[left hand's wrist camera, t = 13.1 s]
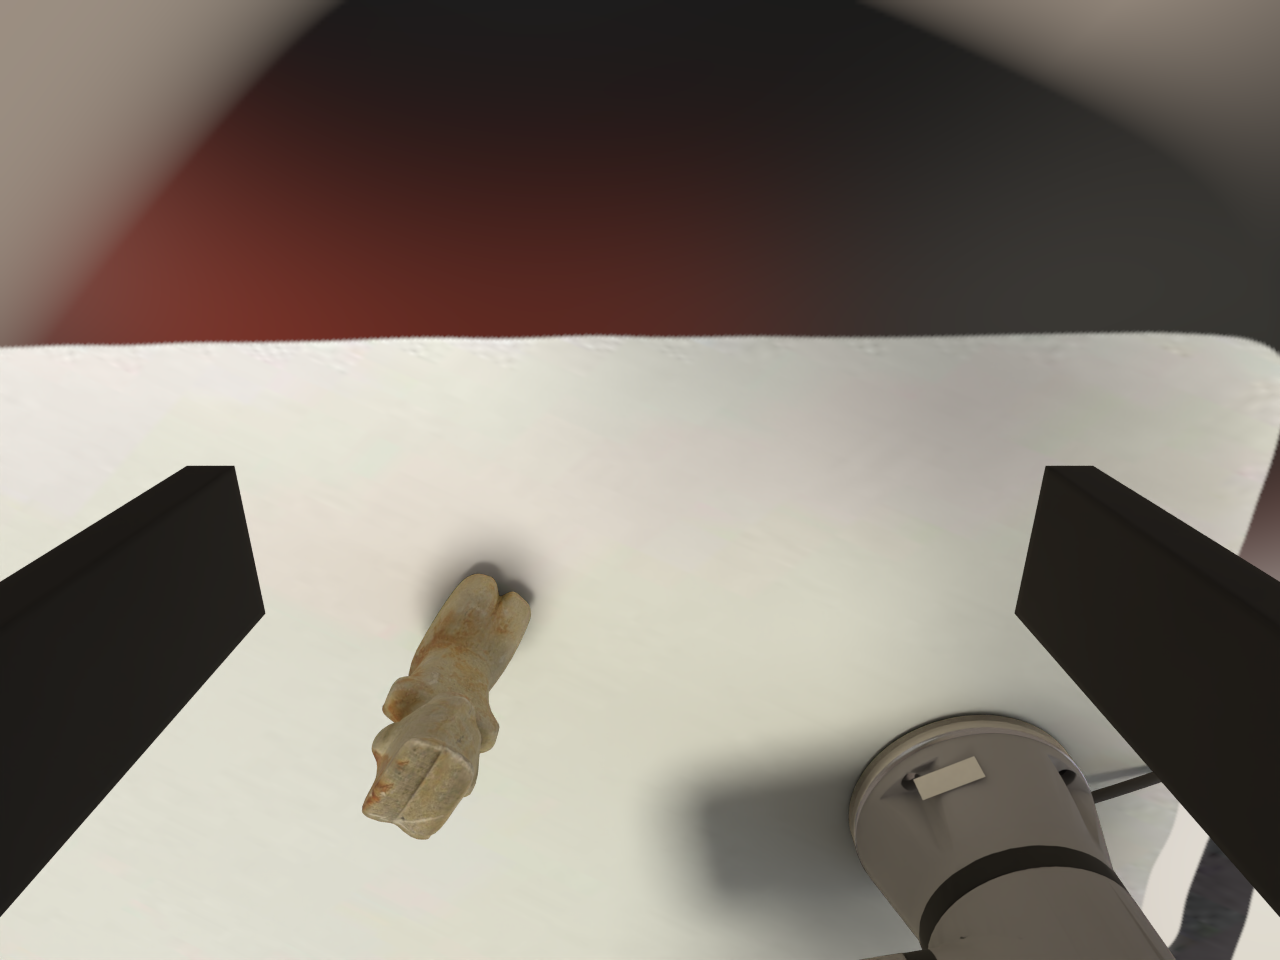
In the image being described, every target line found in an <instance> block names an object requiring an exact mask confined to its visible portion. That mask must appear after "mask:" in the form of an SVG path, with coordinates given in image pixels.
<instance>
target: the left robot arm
mask: <svg viewBox="0 0 1280 960" xmlns="http://www.w3.org/2000/svg"><path fill="white" fill-rule="evenodd" d="M264 614H265V609H264V605H263V600H262V595H261V590H260V586H259V581H258V576H257V571H256V567H255V562H254V557H253V552H252V547H251V543H250V538H249V533H248V528H247V524H246V519H245V514H244V509H243V505H242V500H241V495H240V490H239V486H238V481H237V476H236V471H235V467H234V466H186V467H184V468H183V469H181V470H180V471H178V472H176V473H175V474H173V475H171V476H170V477H168V478H167V479H165V480H163V481H162V482H160V483H159V484H157V485H155V486H154V487H152V488H151V489H149V490H147V491H146V492H144V493H143V494H141V495H139V496H138V497H136V498H134V499H133V500H131V501H130V502H128V503H126V504H125V505H123V506H122V507H120V508H118V509H117V510H115V511H114V512H112V513H110V514H109V515H107V516H105V517H104V518H102V519H101V520H99V521H97V522H96V523H94V524H93V525H91V526H89V527H88V528H86V529H85V530H83V531H81V532H80V533H78V534H77V535H75V536H73V537H72V538H70V539H68V540H67V541H65V542H64V543H62V544H60V545H59V546H57V547H56V548H54V549H52V550H51V551H49V552H48V553H46V554H44V555H43V556H41V557H39V558H38V559H36V560H35V561H33V562H31V563H30V564H28V565H27V566H25V567H23V568H22V569H20V570H19V571H17V572H15V573H14V574H12V575H11V576H9V577H7V578H6V579H4V580H2V581H1V582H0V917H1V916H2V914H3V913H4V912H5V911H6V910H7V909H8V908H9V906H10V905H11V904H12V903H13V902H14V901H15V900H16V898H17V897H18V896H19V895H20V894H21V893H22V892H23V890H24V889H25V888H26V887H27V886H28V885H29V884H30V882H31V881H32V880H33V879H34V878H35V877H36V876H37V874H38V873H39V872H40V871H41V870H42V869H43V868H44V866H45V865H46V864H47V863H48V862H49V861H50V859H51V858H52V857H53V856H54V855H55V854H56V853H57V851H58V850H59V849H60V848H61V847H62V846H63V845H64V843H65V842H66V841H67V840H68V839H69V838H70V837H71V835H72V834H73V833H74V832H75V831H76V830H77V829H78V827H79V826H80V825H81V824H82V823H83V822H84V821H85V819H86V818H87V817H88V816H89V815H90V814H91V813H92V811H93V810H94V809H95V808H96V807H97V806H98V805H99V803H100V802H101V801H102V800H103V799H104V798H105V797H106V795H107V794H108V793H109V792H110V791H111V790H112V788H113V787H114V786H115V785H116V784H117V783H118V782H119V780H120V779H121V778H122V777H123V776H124V775H125V774H126V772H127V771H128V770H129V769H130V768H131V767H132V766H133V764H134V763H135V762H136V761H137V760H138V759H139V758H140V756H141V755H142V754H143V753H144V752H145V751H146V750H147V748H148V747H149V746H150V745H151V744H152V743H153V742H154V740H155V739H156V738H157V737H158V736H159V735H160V734H161V732H162V731H163V730H164V729H165V728H166V727H167V726H168V724H169V723H170V722H171V721H172V720H173V719H174V717H175V716H176V715H177V714H178V713H179V712H180V711H181V709H182V708H183V707H184V706H185V705H186V704H187V703H188V701H189V700H190V699H191V698H192V697H193V696H194V695H195V693H196V692H197V691H198V690H199V689H200V688H201V687H202V685H203V684H204V683H205V682H206V681H207V680H208V679H209V677H210V676H211V675H212V674H213V673H214V672H215V671H216V669H217V668H218V667H219V666H220V665H221V664H222V663H223V661H224V660H225V659H226V658H227V657H228V656H229V655H230V653H231V652H232V651H233V650H234V649H235V648H236V646H237V645H238V644H239V643H240V642H241V641H242V640H243V638H244V637H245V636H246V635H247V634H248V633H249V632H250V630H251V629H252V628H253V627H254V626H255V625H256V624H257V622H258V621H259V620H260V619H261V618H262V617H263V616H264ZM1015 614H1016V616H1017V617H1018V618H1019V619H1020V620H1021V621H1022V622H1023V624H1024V625H1025V626H1026V627H1027V628H1028V629H1029V630H1030V632H1031V633H1032V634H1033V635H1034V636H1035V637H1036V638H1037V640H1038V641H1039V642H1040V643H1041V644H1042V645H1043V646H1044V648H1045V649H1046V650H1047V651H1048V652H1049V653H1050V655H1051V656H1052V657H1053V658H1054V659H1055V660H1056V661H1057V663H1058V664H1059V665H1060V666H1061V667H1062V668H1063V669H1064V671H1065V672H1066V673H1067V674H1068V675H1069V676H1070V677H1071V679H1072V680H1073V681H1074V682H1075V683H1076V684H1077V685H1078V687H1079V688H1080V689H1081V690H1082V691H1083V692H1084V693H1085V695H1086V696H1087V697H1088V698H1089V699H1090V700H1091V701H1092V703H1093V704H1094V705H1095V706H1096V707H1097V708H1098V709H1099V711H1100V712H1101V713H1102V714H1103V715H1104V716H1105V717H1106V719H1107V720H1108V721H1109V722H1110V723H1111V724H1112V726H1113V727H1114V728H1115V729H1116V730H1117V731H1118V732H1119V734H1120V735H1121V736H1122V737H1123V738H1124V739H1125V740H1126V742H1127V743H1128V744H1129V745H1130V746H1131V747H1132V748H1133V750H1134V751H1135V752H1136V753H1137V754H1138V755H1139V756H1140V758H1141V759H1142V760H1143V761H1144V762H1145V763H1146V764H1147V766H1148V767H1149V768H1150V769H1151V770H1152V771H1153V772H1151V773H1148V774H1145V775H1142V776H1139V777H1136V778H1133V779H1130V780H1127V781H1124V782H1121V783H1118V784H1115V785H1111V786H1108V787H1105V788H1102V789H1099V790H1095V791H1092V792H1091V791H1090V788H1089V786H1088V783H1087V780H1086V779H1085V777H1084V775H1083V773H1082V772H1081V770H1080V769H1079V768H1078V766H1077V765H1076V764H1075V762H1074V761H1073V760H1072V758H1071V757H1070V756H1069V754H1068V753H1067V752H1066V750H1065V749H1064V748H1063V747H1062V746H1061V744H1060V743H1059V742H1058V741H1057V740H1055V739H1054V738H1053V737H1052V736H1051V735H1049V734H1048V733H1046V732H1045V731H1043V730H1042V729H1040V728H1038V727H1036V726H1034V725H1032V724H1029V723H1026V722H1024V721H1021V720H1017V719H1013V718H1009V717H1003V716H995V715H967V716H959V717H953V718H948V719H944V720H940V721H937V722H933V723H930V724H928V725H925V726H922V727H920V728H918V729H916V730H914V731H911V732H909V733H908V734H906V735H904V736H902V737H901V738H899V739H897V740H896V741H895V742H893V743H892V744H890V745H889V746H888V747H886V748H885V749H884V750H883V751H882V752H880V753H879V754H878V755H877V756H876V757H875V758H874V759H873V760H872V762H871V763H870V764H869V765H868V766H867V768H866V769H865V770H864V772H863V773H862V775H861V776H860V778H859V780H858V782H857V784H856V786H855V788H854V791H853V793H852V797H851V800H850V806H849V827H850V831H851V835H852V838H853V842H854V845H855V848H856V851H857V854H858V857H859V859H860V862H861V864H862V866H863V868H864V869H865V871H866V872H867V874H868V875H869V877H870V878H871V879H872V881H873V882H874V883H875V885H876V886H877V887H878V888H879V890H880V891H881V892H882V894H883V895H884V896H885V898H886V899H887V900H888V901H889V903H890V904H891V905H892V907H893V908H894V909H895V910H896V912H897V913H898V914H899V916H900V917H901V918H902V919H903V921H904V922H905V923H906V925H907V926H908V927H909V928H910V930H911V931H912V932H913V933H914V935H915V936H916V937H917V939H918V940H919V942H920V945H921V947H922V950H920V951H914V952H907V953H898V954H892V955H885V956H879V957H873V958H867V959H861V960H1176V959H1175V958H1174V956H1173V955H1172V953H1171V952H1170V950H1169V949H1168V948H1167V946H1166V945H1165V943H1164V942H1163V940H1162V939H1161V938H1160V936H1159V935H1158V933H1157V932H1156V931H1155V929H1154V928H1153V926H1152V925H1151V924H1150V922H1149V921H1148V919H1147V918H1146V916H1145V915H1144V913H1143V912H1142V911H1141V909H1140V908H1139V906H1138V905H1137V904H1136V902H1135V901H1134V899H1133V898H1132V897H1131V895H1130V894H1129V892H1128V891H1127V889H1126V888H1125V886H1124V885H1123V884H1122V882H1121V881H1120V879H1119V878H1118V876H1117V875H1116V873H1115V872H1114V870H1113V868H1112V864H1111V861H1110V857H1109V854H1108V850H1107V846H1106V843H1105V839H1104V836H1103V832H1102V829H1101V825H1100V822H1099V818H1098V815H1097V811H1096V808H1095V803H1098V802H1102V801H1105V800H1108V799H1111V798H1114V797H1117V796H1121V795H1124V794H1127V793H1130V792H1133V791H1136V790H1139V789H1142V788H1145V787H1148V786H1151V785H1154V784H1157V783H1160V782H1162V783H1163V784H1164V785H1165V786H1166V787H1167V788H1168V790H1169V791H1170V792H1171V793H1172V794H1173V795H1174V797H1175V798H1176V799H1177V800H1178V801H1179V802H1180V803H1181V805H1182V806H1183V807H1184V808H1185V809H1186V810H1187V811H1188V813H1189V814H1190V815H1191V816H1192V817H1193V818H1194V819H1195V821H1196V822H1197V823H1198V824H1199V825H1200V826H1201V827H1202V829H1203V830H1204V831H1205V832H1206V833H1207V834H1208V835H1209V837H1210V838H1211V839H1212V840H1213V841H1214V842H1215V843H1216V845H1217V846H1218V847H1219V848H1220V849H1221V850H1222V851H1223V853H1224V854H1225V855H1226V856H1227V857H1228V858H1229V859H1230V861H1231V862H1232V863H1233V864H1234V865H1235V866H1236V868H1237V869H1238V870H1239V871H1240V872H1241V873H1242V874H1243V876H1244V877H1245V878H1246V879H1247V880H1248V881H1249V882H1250V884H1251V885H1252V886H1253V887H1254V888H1255V889H1256V890H1257V892H1258V893H1259V894H1260V895H1261V896H1262V897H1263V898H1264V900H1265V901H1266V902H1267V903H1268V904H1269V905H1270V906H1271V908H1272V909H1273V910H1274V911H1275V912H1276V913H1277V914H1278V916H1279V917H1280V582H1279V581H1278V580H1276V579H1274V578H1273V577H1271V576H1269V575H1268V574H1266V573H1265V572H1263V571H1261V570H1260V569H1258V568H1257V567H1255V566H1253V565H1252V564H1250V563H1248V562H1247V561H1245V560H1244V559H1242V558H1241V557H1239V556H1237V555H1236V554H1234V553H1232V552H1231V551H1229V550H1228V549H1226V548H1224V547H1223V546H1221V545H1220V544H1218V543H1216V542H1215V541H1213V540H1212V539H1210V538H1208V537H1207V536H1205V535H1203V534H1202V533H1200V532H1199V531H1197V530H1195V529H1194V528H1192V527H1191V526H1189V525H1187V524H1186V523H1184V522H1183V521H1181V520H1179V519H1178V518H1176V517H1175V516H1173V515H1171V514H1170V513H1168V512H1166V511H1165V510H1163V509H1162V508H1160V507H1158V506H1157V505H1155V504H1154V503H1152V502H1150V501H1149V500H1147V499H1146V498H1144V497H1142V496H1141V495H1139V494H1137V493H1136V492H1134V491H1133V490H1131V489H1129V488H1128V487H1126V486H1125V485H1123V484H1121V483H1120V482H1118V481H1117V480H1115V479H1113V478H1112V477H1110V476H1109V475H1107V474H1105V473H1104V472H1102V471H1100V470H1099V469H1097V468H1096V467H1094V466H1046V467H1045V471H1044V476H1043V481H1042V486H1041V490H1040V495H1039V500H1038V505H1037V509H1036V514H1035V519H1034V524H1033V528H1032V533H1031V538H1030V543H1029V547H1028V552H1027V557H1026V562H1025V567H1024V571H1023V576H1022V581H1021V586H1020V590H1019V595H1018V600H1017V605H1016V609H1015Z"/></svg>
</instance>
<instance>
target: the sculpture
mask: <svg viewBox="0 0 1280 960" xmlns="http://www.w3.org/2000/svg"><path fill="white" fill-rule="evenodd" d="M530 617H531V610H530V607H529V605H528V603H527V602H526V601H525V600H524V599H523V598H522V597H521V596H520V595H519V594H517V593H515V592H509V593H507V594H505V595H503V596H499V593H498V588H497V584H496V582H495V580H494V579H493V578H492V577H490V576H487V575H483V574H473V575H471V576H469V577H467V578H465V579H464V580H463V581H462V582H461V583H460V584H459V585H458V586H457V587H456V589H455V590H454V591H453V593H452V594H451V595H450V597H449V598H448V600H447V601H446V602H445V604H444V605H443V607H442V608H441V610H440V611H439V613H438V615H437V616H436V618H435V619H434V621H433V623H432V624H431V626H430V628H429V629H428V631H427V632H426V634H425V636H424V638H423V640H422V641H421V643H420V645H419V647H418V649H417V650H416V653H415V655H414V658H413V660H412V663H411V667H410V671H409V676H407V677H402V678H399V679H397V680H396V681H395V682H394V684H393V685H392V687H391V689H390V691H389V694H388V696H387V698H386V701H385V704H384V705H383V708H382V710H383V713H384V714H385V715H386V716H387V717H388V718H389V719H390V720H392V721H393V722H394V723H392V724H390V725H388V726H387V727H385V728H384V729H382V730H381V731H380V732H379V733H378V735H377V736H376V737H375V739H374V741H373V744H372V752H373V755H374V757H375V759H376V762H377V775H376V779H375V781H374V783H373V785H372V787H371V789H370V791H369V793H368V795H367V797H366V799H365V801H364V804H363V806H362V813H363V814H364V815H365V816H367V817H368V818H371V819H374V820H377V821H380V822H388V823H393V824H395V825H397V826H398V827H399V828H400V829H401V830H403V831H404V832H405V833H406V834H408V835H409V836H411V837H413V838H416V839H423V840H424V839H429V837H430V836H431V835H432V834H434V833H436V832H437V831H438V830H439V829H440V828H441V827H442V826H443V825H444V823H445V822H446V821H447V820H448V818H449V817H450V815H451V814H452V812H453V811H454V809H455V808H456V806H457V805H458V803H459V802H460V801H461V799H462V798H463V797H466V796H468V795H470V794H471V792H472V790H473V788H474V786H475V784H476V779H477V775H478V766H479V754H480V753H484V752H486V751H488V750H490V749H491V748H492V747H493V746H494V744H495V742H496V738H497V735H498V731H499V724H498V722H497V721H496V719H495V717H494V715H493V714H492V712H491V709H490V706H489V691H490V690H491V688H492V687H493V686H494V684H495V683H496V682H497V680H498V679H499V677H500V676H501V675H502V673H503V672H504V670H505V669H506V667H507V665H508V664H509V662H510V660H511V659H512V657H513V655H514V653H515V651H516V649H517V647H518V645H519V643H520V641H521V639H522V637H523V635H524V633H525V630H526V628H527V626H528V623H529V621H530Z"/></svg>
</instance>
